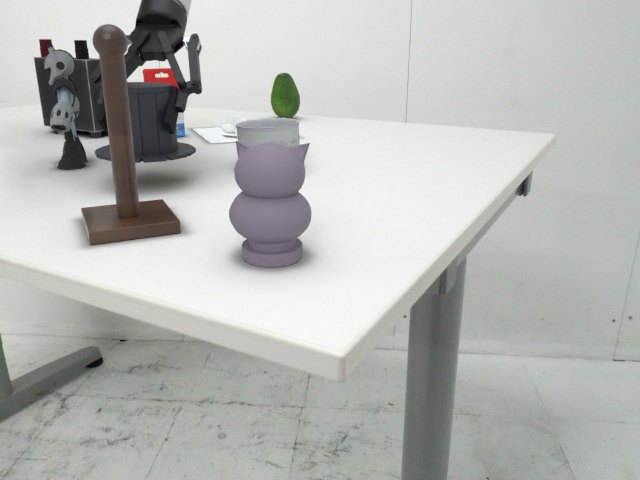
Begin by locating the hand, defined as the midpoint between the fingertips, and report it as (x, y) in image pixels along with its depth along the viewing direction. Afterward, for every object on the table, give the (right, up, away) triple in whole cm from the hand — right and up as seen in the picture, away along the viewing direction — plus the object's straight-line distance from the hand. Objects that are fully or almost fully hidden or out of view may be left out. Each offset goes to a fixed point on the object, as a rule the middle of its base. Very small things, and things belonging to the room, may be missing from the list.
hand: (136, 127), depth 82 cm
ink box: (-8, +6, +44) cm, 45 cm away
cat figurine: (+21, -18, -22) cm, 35 cm away
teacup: (+18, -3, +19) cm, 26 cm away
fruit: (+17, +17, +72) cm, 76 cm away
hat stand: (+4, -15, -13) cm, 20 cm away
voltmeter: (-25, +9, +51) cm, 57 cm away
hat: (0, -3, +4) cm, 5 cm away
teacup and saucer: (+9, +8, +50) cm, 51 cm away
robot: (-17, -3, +17) cm, 24 cm away
